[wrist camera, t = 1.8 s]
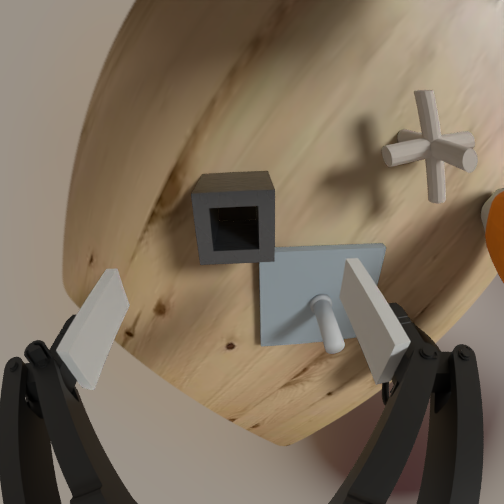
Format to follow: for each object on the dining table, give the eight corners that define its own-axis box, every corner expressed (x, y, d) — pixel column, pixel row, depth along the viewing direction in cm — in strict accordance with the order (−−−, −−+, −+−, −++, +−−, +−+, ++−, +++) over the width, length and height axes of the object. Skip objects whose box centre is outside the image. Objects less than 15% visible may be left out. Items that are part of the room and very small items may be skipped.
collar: (202, 174, 24) (191, 193, 19) (267, 170, 25) (274, 189, 19) (208, 232, 27) (200, 264, 22) (268, 229, 27) (274, 261, 22)
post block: (258, 248, 28) (263, 297, 22) (382, 243, 29) (416, 284, 22) (260, 340, 35) (264, 390, 28) (359, 331, 36) (377, 375, 29)
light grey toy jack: (371, 193, 26) (423, 238, 17) (350, 96, 21) (409, 96, 12) (443, 174, 24) (503, 207, 16) (431, 87, 20) (499, 93, 11)
